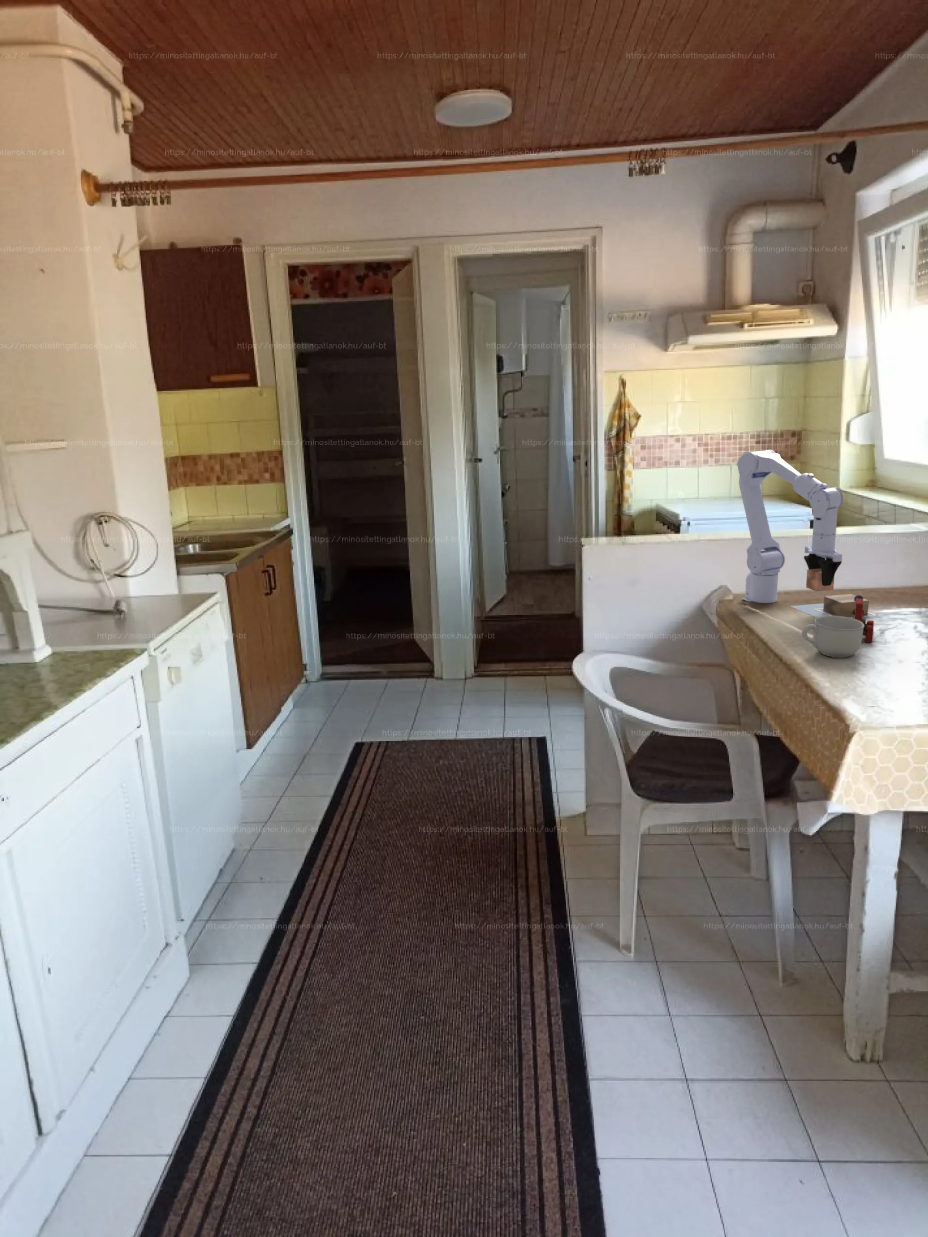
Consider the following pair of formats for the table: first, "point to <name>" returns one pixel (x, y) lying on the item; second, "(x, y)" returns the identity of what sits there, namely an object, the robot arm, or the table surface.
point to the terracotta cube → (817, 581)
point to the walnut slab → (842, 605)
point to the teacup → (835, 635)
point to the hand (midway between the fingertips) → (820, 583)
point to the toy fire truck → (859, 614)
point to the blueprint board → (818, 611)
